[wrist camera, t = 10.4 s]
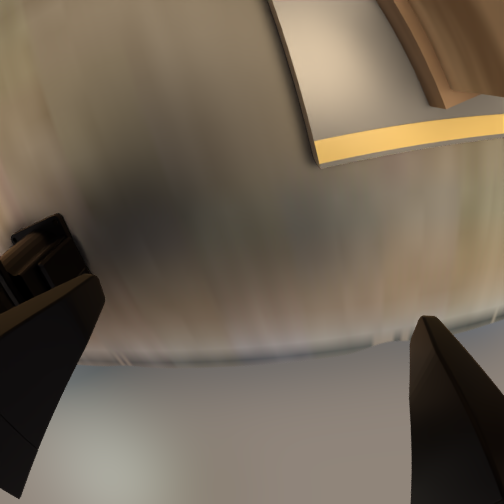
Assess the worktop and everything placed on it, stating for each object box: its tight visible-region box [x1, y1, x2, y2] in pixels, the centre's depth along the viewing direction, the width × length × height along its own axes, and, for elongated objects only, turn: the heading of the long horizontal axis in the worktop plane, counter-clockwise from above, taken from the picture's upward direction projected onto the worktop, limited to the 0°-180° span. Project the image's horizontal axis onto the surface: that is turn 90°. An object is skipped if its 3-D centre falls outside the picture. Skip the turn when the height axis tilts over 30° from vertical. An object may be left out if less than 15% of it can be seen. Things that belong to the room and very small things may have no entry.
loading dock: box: [268, 0, 504, 169], centre depth 12 cm, size 18×13×3 cm
